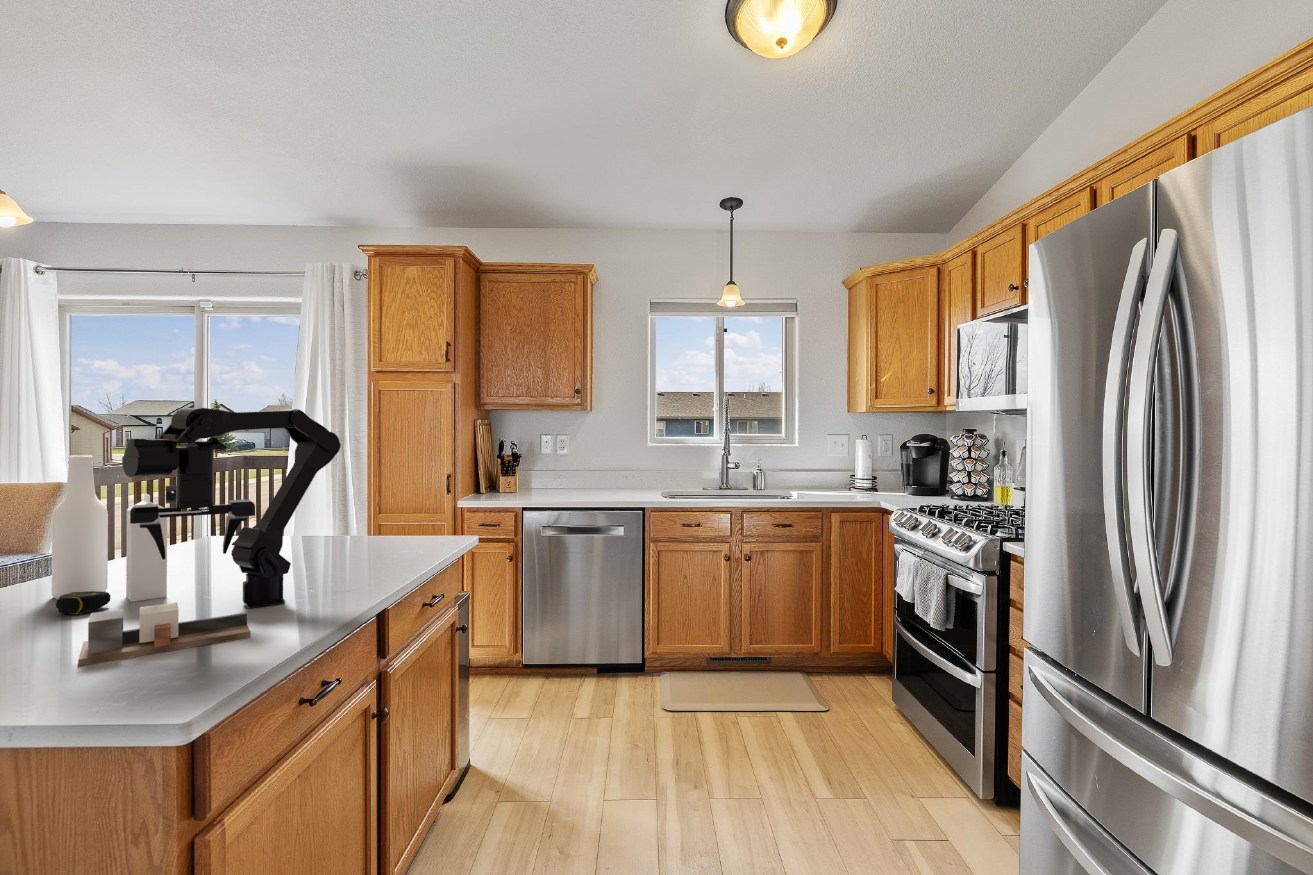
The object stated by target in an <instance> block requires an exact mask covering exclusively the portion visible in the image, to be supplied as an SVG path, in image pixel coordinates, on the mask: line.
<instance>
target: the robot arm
mask: <svg viewBox="0 0 1313 875" xmlns="http://www.w3.org/2000/svg"><path fill="white" fill-rule="evenodd" d="M170 421H171V422H170V424H169V426H167V427H166V429H165V430H164V431H163V432H162V433H161V434H160V436H159V437H157V439H146V438H129V439H128V446H126V448H125V450H124V453H123V456H122V459H121V463H122V468H123V471H124V474H125V475H126V476H127V477H128V478H139V477H141V478H143V477H159V476H160V477H161V476H162V477H163V476H169V475H171V474H172V472H173V471H175V472H176V473H175V476H176V477H175V478H176V479H175V482H176V483H175V485H165V504H174V506H171V507H163V508H158V505H159V503H154V504H148V505H135V504H134V505H132V506H133V507H132V506H131V507H132V508H131V510H130V523H131V524H136V523H140V528H147V529H148V530H149V532H150V534H151V535H152V537H153V538H154V540H155V542H156V545H157V547H158V550H159V552H160V554H161V557H162V559H163V560H165V546H164V541H163V535H162V529H161V523H160V518H163V517H167V518H175V517H176V518H177V517H179V518H180V517H193V516H196V517H197V516H208V515H210V516H211V515H224V514H225V515H226V514H228V515H226V519H225V530H224V534H223V535H224V536H223V542H222V554H223V555H225V554H227V552H228V549H229V547H230V544H231V546H233V547H232V550H231V553H230V555H231V557H232V560H233V562H234V563H235V565H238V566H239V569H240V572H241V573H242V574H245V581H243V582H242V602H243V604H245V606H246V607H247V609H252V608H258V607H266V606H273V605H279V604H285V603H286V600H285V598H284V575H286V574H288V573H289V571H290V568H291V565H292V564H291V563H292V562H290V561H289V560H288V559H286V558H285V557H284V556H282V555H281V554H280V553H281V550H282V548H283V542H284V531H285V528H286V527H287V525H288V524H289V521H290V519H291V518H292V516H293V515H294V513H295V511H296V509H297V507H298V506H299V504H300V502H301V501H302V499H303V497H304V496H305V493H306V492H307V490H308V489H309V487H310V485H311V484H312V482H313V480H314V478H315V477H316V475H317V473H318V472H319V471H320V470H322V469H323V468H324V467H326V466H327V465H329V464H330V463H331V461H333V459H334V458H335V456H336V455H338V453H339V452H340V449H341V445H342V443H341V442H340V439H339V437H338V435H337V434H336V433H334V432H333V431H329V430H328V428H326V427H325V426H324V425H322V424H320V423H318V421H315V420H314V419H312V418H310V417H309V415H307V414H306V413H305V412H304V410H301V409H294V408H291V409H290V408H288V409H282V410H267V411H266V410H265V411H264V410H263V411H236V412H235V411H228V410H222V409H214V408H208V407H184V408H180V409H178V410H176V412H175V413H173V415H172V418H171V420H170ZM280 428H281V429H282V428H283V429H284V430H285V432H286V433H287V434H288V436H289V437H290V439H291V440H292V441H293V442H295V443H296V447H295V450H294V463H293V465H292V467H291V469H290V470H289V472H288V474H287V475H286V476H285V479H284V480H283V482H282V483H281V486H280V487H279V489H278V490H277V492H276V494H275V495H274V496H273V499H272V500H271V502H270V503H269V505H268V507H267V508H266V511H265V512H264V514H263V516H262V517H261V518H260V520H259V521H258V522H257V524H255V525H254V526H253V527H248V526H243V527H242V528H241V530H240V532H239V534H238V537H236V539H235V540H234V541H233V542H232V540H233V538H234V534H235V533H236V532H237V529H238V527H239V526H240V524H241V523H242V522H247V521H248V517H254V516H256V504H255V503H254V502H253V501H252V500H250V499H233V500H232V499H231V500H230V499H229V500H228V504H227V503H225V504H214V502H215V501H214V500H215V499H214V498H215V497H214V495H215V492H214V491H215V488H214V486H215V485H214V484H215V482H214V481H215V478H214V477H215V475H214V474H215V473H214V472H215V470H214V469H215V468H214V467H215V451H219V450H220V451H223V450H224V451H225V450H227V448H228V447H227V445H225V444H224V443H222V442H221V440H219V439H218V438H217V437H218V436H223V435H226V434H229V433H232V432H236V431H247V430H248V431H249V430H265V429H266V430H267V429H280ZM200 439H206V440H205V441H198V440H200ZM177 445H186V446H178V447H177ZM231 542H232V543H231Z"/></svg>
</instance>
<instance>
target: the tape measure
mask: <svg viewBox="0 0 1313 875" xmlns="http://www.w3.org/2000/svg"><path fill="white" fill-rule="evenodd" d="M110 601H111V594H110V593H109V592H108V591H107V592H106V591H105V592H99V591H87V592H72V593H70V594H65V595H62V596H60V597H59V599H56V601H55V608H56V609H57V611H58V613H60V614H67V615H68V614H70V615H71V616H72V615H83V614H85V613H88V612H93V611H97V610H100V609H101V608H102V607H105V606H106V605H108V604H109V603H110Z"/></svg>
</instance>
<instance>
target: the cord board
mask: <svg viewBox="0 0 1313 875" xmlns="http://www.w3.org/2000/svg"><path fill="white" fill-rule="evenodd" d="M87 623H88V624H87V626H88V627H87V630H88V631H87V633H88V635H87V637H88V638H87V640H86V641H85V640H84V641H82V642H83V643H82V645H81V650H80V651H79V652H80V653H79V656H78V659H77V660H78V664H77V666H78V667H81V666H88V665H93V664H94V665H95V664H98V663H99V664H100V663H105V662H111V661H117V660H122V659H129V658H134V657H135V658H136V657H140V656H146V655H153V654H159V653H164V652H169V651H170V652H171V651H176V650H181V649H182V650H183V649H188V648H195V647H200V646H207V645H211V644H217V643H224V642H230V641H235V640H242V639H248V638H251V630H250V627H249V626H248V613H247V612H241V613H234V614H228V615H227V614H226V615H221V616H215V617H208V618H207V617H206V618H201V619H193V620H188V621H187V620H186V621H181V622H180V621H178V637H175V638H170V623H168V624H161V625H155V634H154V641H150V642H144V643H139V628H140V627H139V628H133V629H127V630H126V629H125V630H124V608H121V609H114V610H106V611H98V612H91V613H90V616H89V619H88V622H87Z"/></svg>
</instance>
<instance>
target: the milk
mask: <svg viewBox="0 0 1313 875" xmlns="http://www.w3.org/2000/svg"><path fill="white" fill-rule="evenodd" d="M148 504H155V503H154V502H151V495H150V494H147V493H144V496H143V500H141V501H139V502H138V503H135V504H134V505H148ZM134 505H132V506H129V507H128V508H126V554H125V555H126V557H125V558H126V559H125V560H126V565H125V566H126V567H125V568H126V569H125V570H126V575H125V577H126V578H125V580H126V588H125V589H126V591H125V593H126V598H127V600H129V602H131V603H134V602H141V601H148V600H154V599H161V598H167V597H168V594H167V593H168V584H167V583H168V517H163V518H160V523H161V529H162V535H163V541H164V546H165V560H163V559H162V557H161V554H160V552H159V550H158V547H157V545H156V542H155V540H154V538H153V537H152V535H151V534H150V532H149V530H148V529H147V528H140V523H136V524H131V523H130V510H131V508H132V507H133V506H134ZM158 508H164V507H163V506H161V505H159V504H158Z"/></svg>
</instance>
